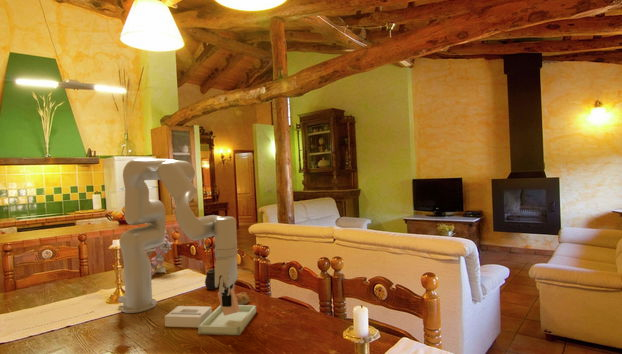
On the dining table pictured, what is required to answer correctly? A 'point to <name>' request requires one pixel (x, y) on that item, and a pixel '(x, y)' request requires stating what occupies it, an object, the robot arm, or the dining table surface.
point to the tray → (227, 321)
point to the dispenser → (187, 316)
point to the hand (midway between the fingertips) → (228, 304)
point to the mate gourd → (210, 279)
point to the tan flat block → (235, 306)
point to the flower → (159, 258)
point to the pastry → (242, 298)
